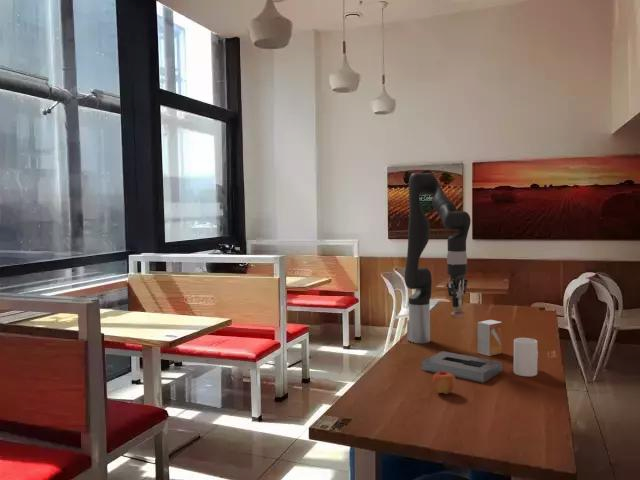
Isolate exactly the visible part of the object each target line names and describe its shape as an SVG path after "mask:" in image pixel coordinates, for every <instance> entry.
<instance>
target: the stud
mask: <svg viewBox="0 0 640 480" xmlns="http://www.w3.org/2000/svg"><path fill="white" fill-rule="evenodd" d="M455 290H457V289H455ZM458 298H459V306H458V307H453V311H452V312H450V314H451V315H450V316H451V318H454V319H455V318H456V319H462V318H465V312H464V311H462V310H463V308H462V307H463V305H462V288H461V286H460V292H459V295H458Z"/></svg>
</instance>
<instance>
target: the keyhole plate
mask: <svg viewBox="0 0 640 480" xmlns="http://www.w3.org/2000/svg"><path fill="white" fill-rule="evenodd" d="M502 365H503V362H502V361H499V360H493V359H487V358H483V357H476V356H471V355H466V354H460V353H455V352H449V351H445V350H442V351H439V352H438V353H435V354H434V355H431V356H429V357H427V358H425V359H423V360H421V370H422V371H426V372H429V373H434V374H435V373H437V372H440V371H445V372H449V373H452V374H453V375H454V376H455V378H459V379H464V380H469V381H473V382H477V383H483V384H484V383H485V382H487V381H489V380H490V379H492V378H494V377H495V376H497V375H499V374H500V373H501V372H503V371H502V370H503V369H502V368H503V367H502ZM439 368H440V369H439Z"/></svg>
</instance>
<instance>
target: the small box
mask: <svg viewBox="0 0 640 480" xmlns="http://www.w3.org/2000/svg"><path fill="white" fill-rule="evenodd" d="M477 353H478V354H481V355H484V356H488V357H491V356H495V355H499V354H503V322H502V321H498V320H494V319H487V320H483V321H478V322H477Z"/></svg>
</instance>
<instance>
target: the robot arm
mask: <svg viewBox="0 0 640 480" xmlns="http://www.w3.org/2000/svg"><path fill="white" fill-rule="evenodd" d="M420 195H431V196H432V199H431V200H432V201H431V204H432V207H433V209H434V210H435V212H437V214H438V215H439V216H440V219H441V222H442V225H443V227H444V228H445V229H446V230H450V231H451V230H452V231H454V230H457V231H456V234H454V235H449V237H447V254H446V256H447V257H446V263H447V265H446V268H447V269H446V272H447V275H448V276H450V279H449V282H446V289H447V291H448V296H449V297H451V298H452V307H453V308H454V307H458V306H459V298H458V295H459V292H460V286H461V288H462V306H464V302H463V299H464V297H463V296H464V295H465V294H466V293H467V286H468V279H466V278H465V276H466V275H468V256H467V238H468V234H469V230H470V226H471V221H472V219H471V217H470V214H469V212H467V211H464V210H463V211H462V210H461V211H457V208H456V207H457V206H455V205H456V204H454V203H453V202H452V201H451V199H450V198H449V197H448V196H447V195H446V194H445V192H444V191H443V188H442V186H441V184H440V183H439V181H438V179H437V178H436V176H435V175H434V174H433V173H431V172H430V173H427V172H424V173H423V172H414V173H411V175H410V177H409V179H408V201H409V203H408V205H409V206H408V207H409V210H408V211H409V213H408V227H407V228H408V232H407V233H408V234H407V252H406V254H407V256H406V262H405V268H404V269H405V270H404V284H405V286H406V287H407V288H408V289H410V290H415V289H416V291H415V292H414V293H413V294H411V295H410V296H409V297H408V319H407V320H406V327H407V328H406V331H407V332H406V333H407V334H406V335H407V336H406V337H407V340H409V342H410V341H411V343H413V342H414V344H427V343H430V342H431V328H430V327H431V326H430V325H431V321H430V320H431V319H430V318H431V317H430V316H431V313H430V309H431V308H430V307H431V306H430V304H431V303H430V301H431V298H432V285H433V284H432V283H433V280H432V277H433V276H432V273H431V270H430V269H429V268H428V267H425V266H424V267H419V263H420V262H419V261H420V258H421V255H422V253H423V252H424V250H425V248H426V247H427V245H428V242H429V241H430V222H429V220H428V217H427V216H426V214H425V212H424V210H423V209H422V206H421V200H420ZM455 289H457V290H455Z"/></svg>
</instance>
